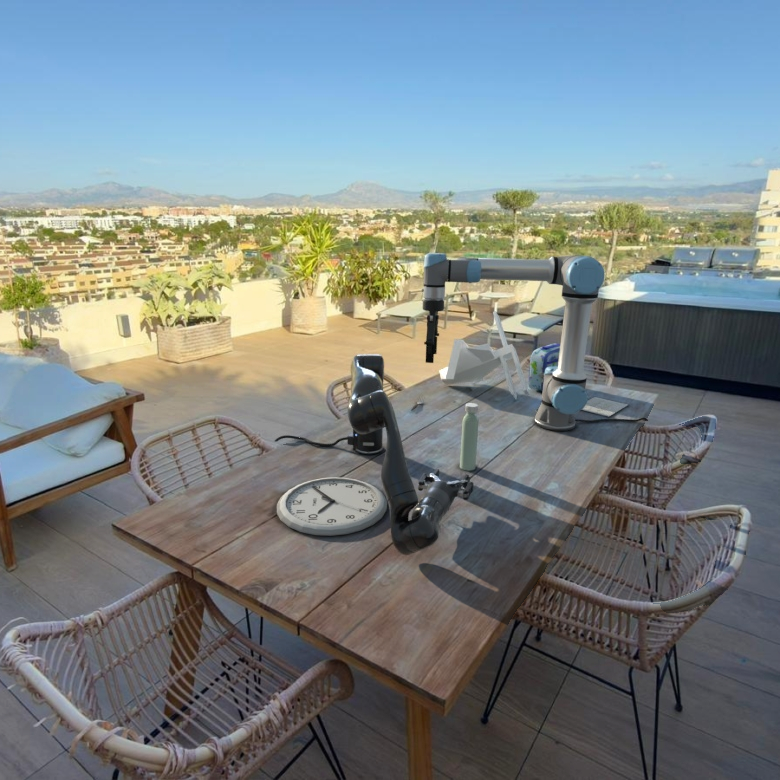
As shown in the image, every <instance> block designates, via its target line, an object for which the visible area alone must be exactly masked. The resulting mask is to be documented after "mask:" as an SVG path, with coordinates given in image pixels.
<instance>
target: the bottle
mask: <svg viewBox="0 0 780 780" xmlns="http://www.w3.org/2000/svg"><path fill="white" fill-rule="evenodd" d="M479 421H480V420H479V417H478V415H477V414H476V412H475V413H470V412H466V413H465V415H464V416H463V418H462V423H461V425H462V426H461V427H462V428H461V442H460V457H459V468H460V469H461V470H463V471H474V470H476V463H477V450H478V438H479V437H478V435H479V424H480V423H479Z"/></svg>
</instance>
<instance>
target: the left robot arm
mask: <svg viewBox="0 0 780 780" xmlns="http://www.w3.org/2000/svg"><path fill="white" fill-rule="evenodd" d="M350 376H351V382H350V397H349V400H348V404H347V416H348V421H349V424H350V426H351V428H352V431H351V433H349V434H348V435H347V436H344V437H340V438H338V439H336V440H335V441H333V442H332V443H322V442H316V441H312V440H311V439H308V438H306V437H301V436H296V435H289V434H288V435H287V434H285V435H281V436H278V437H276V438H275V439H274V442H275V443H276V442H279V441H280V440H283V439H292V440H300V441H304V442H306V443H308V444H311V445H313V446H318V447H334V446H336V445H337V444H339V443H340V442H342V441H347V445H348V446H352V450H353V452H354V451H355V452H357V453H358V454H360V455H366V456H367V455H369V456H370V455H371V456H372V455H377V454H379V453H381V452H383V449H384V448H383V447H384V446H383V439H384V438H383V437H384V436H383V435H384V434H383V433H384V432H383V431H384V429H385V432H386V447H385V448H386V449H385V453H384V457H383V461H382V466H381V472H380V480H381V486H382V489H383V492H384V496H385V498H386V500H387V505H388V509H389V518H390V520H389V522H390V534H391V535H390V537H391V541H392V544H393V546H394V548H395V549H396V550H397V552H398V553H400V555H403V556H410V555H413V554H415V553H417V552H420V551H422V550H425V549H427V548H429V547H432V546H433V545H435V544H436V542H437V541H438V539H439V537H440V524H441V522H442V521H443V518H444V517H445V516H446V515H447V513H448V511H450V508H451V506H452V504H453V503H454V501H455V499H456V498H457V497H458V496H459V497H462V499H463V500H464V501H467V500H469V498H470V497H471V495H472V493H473V492H474V482H473V481H471V477H470V476H469V474H465V475H464V477H463V479H461V480H459V479H457V480H453V481H451V480H450V481H449V480H444V479H440V478H439V476H440V469H439V468H435V469H434V470H432V472H431V473H429V474H428V473H426V472H423V473H422V475H421V476H420V478H419V480H418V482H417V483H418V484H417V485H418V486H417V490H418V491H420V492H421V491H423V490H424V491H423V493H422V494H421V496H420V498H419V497H418V493H417V491H416V488H415V485H414V481H413V479H412V476H411V474H410V470H409V467H408V463H407V459H406V456H405V451H404V446H403V441H402V438H401V433H400V428H399V426H398V421H397V417H396V414H395V410H394V408H393V404H392V402H391V400H390V397H389V395H388V394H387V393H386V392H385V391H384V377H385V360H384V357H383V355H381V354H356V355H354V356H353V357H352V359H351V362H350ZM299 437H300V438H299ZM428 482H429V483H428ZM427 483H428V484H427ZM411 511H412V513H411V516H410V512H411ZM409 517H411V519H409Z"/></svg>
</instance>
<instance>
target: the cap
mask: <svg viewBox="0 0 780 780" xmlns="http://www.w3.org/2000/svg"><path fill="white" fill-rule="evenodd" d="M464 410H465V412H466V413H467V412H470V413H475V414H476V413H477V412H478V411H479V405H478V403H474V402H466V403H465V405H464Z"/></svg>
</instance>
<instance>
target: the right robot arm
mask: <svg viewBox="0 0 780 780" xmlns="http://www.w3.org/2000/svg"><path fill="white" fill-rule="evenodd" d="M605 272H606V271H605V268H604V266H603V265H602V264H601V262H600V261H599V260H598V259H596V258H595V257H592V256H588V255H581V254H575V255H565V256H551V257H550V258H548V259H539V258H538V259H537V258H536V259H535V258H534V259H532V258H530V259H529V258H485V257H482V258H481V257H478V258H476V257H466V256H465V257H464V256H463V257H459V258H457V259H448V257H447V254H446V253H442V252H441V253H439V252H430V253H426V254H425V256H424V262H423V285H422V287H423V288H422V289H421V292H422V297H423V299H422V310H423V311H426V312H428V314H427V316H426V337H425V341H424V342H423V344H424V345H425V364H426V363H427V364H434V359H435V355H437V351H438V337H440V333H439V331H438V328H439V319H440V315H439V312H442V311H443V312H444V310H445V298H446V283H464V284H465V283H468V284H474V283H477V284H478V283H479V282H480V281H481V280H485V281H486V280H489V281H493V280H494V281H526V282H546V283H547V284H548V285H557V286H562V289H561V298H562V299H563V300H564V303H565V304H564V311H563V319H562V327H561V337H560V343H559V344H560V353H559V361H558V367H557V366H553V367H547V368H546V369H545V373H544V382H543V391H541V392H542V394H541V402H540V405H539V407H538V408H536V409H535V412H536V413H535V416H534V424H535V425H536V426H537V427H539V428H542V429H544V430H549V431H556V432H567V431H572V430H574V429H575V428H576V422H579V423H598V422H630V423H636V422H641V421H646V422H649V419H648V418H647V417H645V416H643V417H640V418H636V419H632V418H631V419H630V418H629V419H628V418H599V419H579V418H575V417H576V416H575V414H577V413H579V412H581V411H583V410H582V409H583V408H584V407H585V405H586V403H587V401H588V400H589V399H588V398H589V397H588V393H587V391H586V387H587V378H588V376H587V374H586V373H585V372H584V367H585V358H586V354H587V353H586V352H587V344H588V337H589V331H590V323H591V315H592V307H593V303H594V302H596V301H597V300H598V298H599V291H600V288H601V287H602V286H603V284H604V282H605V277H606V274H605Z"/></svg>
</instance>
